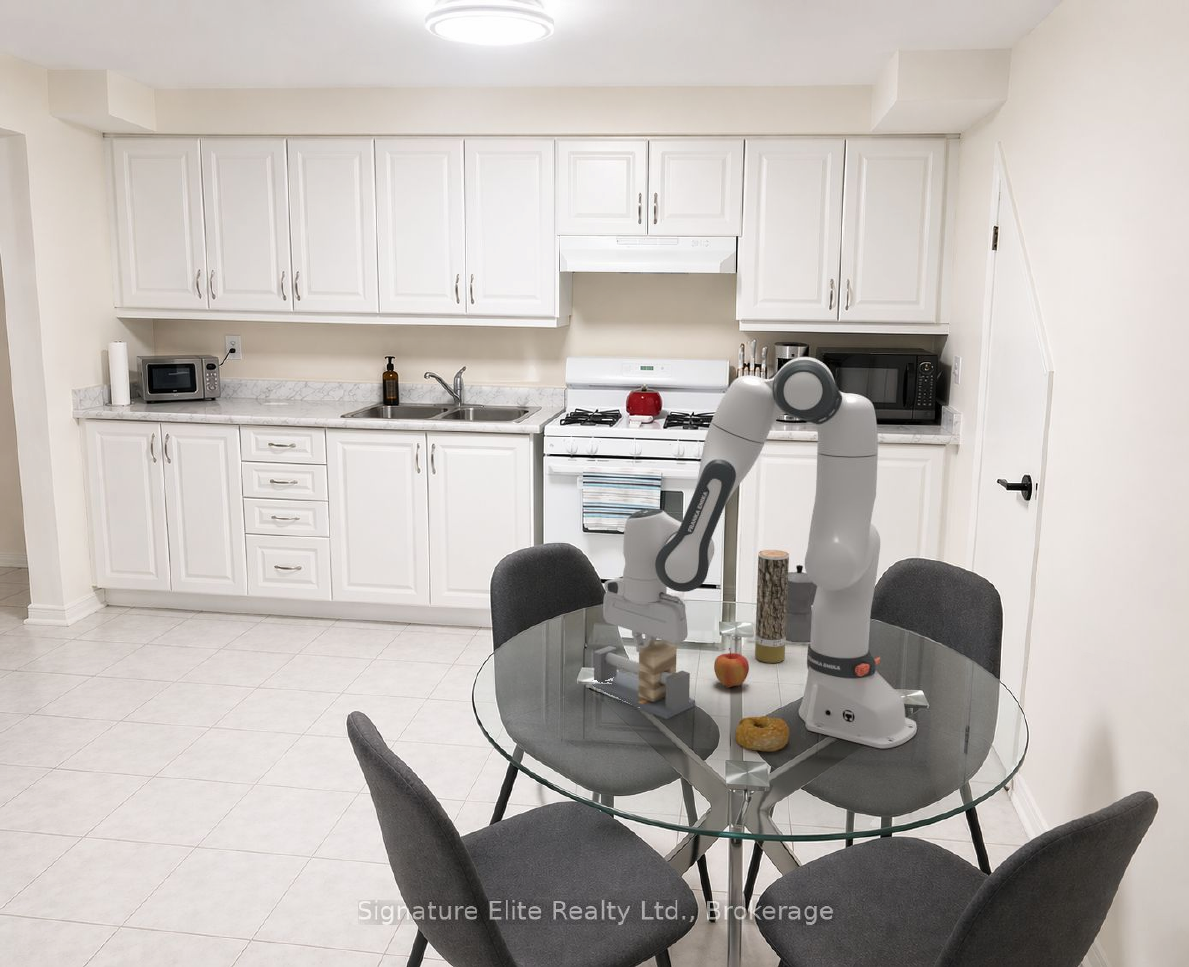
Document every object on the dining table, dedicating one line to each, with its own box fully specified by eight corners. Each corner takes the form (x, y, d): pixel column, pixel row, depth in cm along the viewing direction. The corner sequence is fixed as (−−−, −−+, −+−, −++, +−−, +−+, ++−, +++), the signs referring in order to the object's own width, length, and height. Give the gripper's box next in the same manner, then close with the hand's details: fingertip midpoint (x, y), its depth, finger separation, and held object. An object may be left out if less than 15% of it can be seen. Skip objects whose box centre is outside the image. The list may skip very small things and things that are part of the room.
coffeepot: (766, 639, 232) (769, 567, 229) (773, 626, 241) (775, 558, 237) (831, 646, 227) (834, 573, 224) (835, 634, 236) (838, 563, 232)
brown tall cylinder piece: (783, 654, 222) (787, 550, 217) (786, 664, 216) (790, 558, 211) (753, 652, 223) (757, 549, 218) (755, 663, 216) (759, 557, 212)
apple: (721, 694, 199) (722, 658, 198) (708, 681, 206) (709, 646, 205) (753, 690, 201) (755, 654, 200) (739, 677, 208) (740, 642, 207)
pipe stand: (695, 705, 194) (696, 670, 192) (666, 719, 187) (667, 682, 186) (616, 676, 209) (616, 643, 207) (587, 688, 202) (587, 654, 201)
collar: (675, 691, 195) (676, 645, 194) (653, 701, 191) (654, 654, 189) (660, 686, 198) (661, 640, 196) (638, 696, 193) (639, 649, 191)
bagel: (780, 727, 184) (781, 704, 183) (795, 755, 173) (796, 730, 172) (729, 729, 183) (730, 706, 183) (741, 757, 173) (741, 732, 172)
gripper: (694, 595, 188) (693, 661, 191) (619, 575, 202) (618, 637, 205) (674, 602, 184) (673, 670, 186) (598, 581, 198) (598, 644, 200)
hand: (644, 652), depth 196 cm, fingers closed
